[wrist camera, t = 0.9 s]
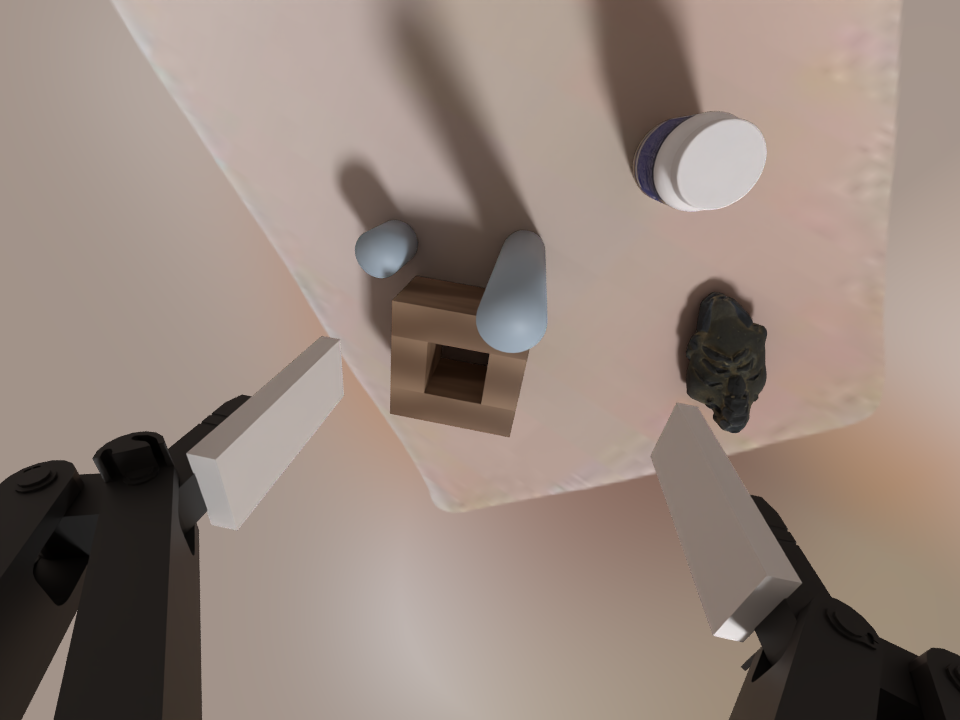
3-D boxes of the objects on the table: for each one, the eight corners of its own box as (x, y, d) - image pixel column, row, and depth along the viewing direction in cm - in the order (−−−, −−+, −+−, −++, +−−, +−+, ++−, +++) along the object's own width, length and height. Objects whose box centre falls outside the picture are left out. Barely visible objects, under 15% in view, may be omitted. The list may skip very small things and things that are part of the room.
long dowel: (505, 226, 34) (480, 281, 20) (549, 234, 34) (554, 294, 20) (498, 270, 36) (471, 346, 22) (540, 277, 36) (539, 358, 22)
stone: (758, 279, 34) (792, 299, 29) (756, 401, 39) (784, 434, 35) (675, 297, 36) (695, 319, 31) (684, 412, 41) (702, 444, 36)
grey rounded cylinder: (377, 216, 35) (354, 226, 31) (418, 223, 35) (401, 234, 31) (377, 258, 37) (355, 273, 33) (416, 265, 37) (400, 281, 33)
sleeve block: (416, 275, 38) (391, 300, 32) (535, 297, 37) (534, 326, 31) (411, 376, 44) (390, 413, 38) (514, 396, 43) (509, 437, 37)
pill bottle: (635, 208, 32) (670, 230, 23) (627, 133, 30) (661, 127, 21) (710, 187, 31) (776, 202, 22) (708, 106, 28) (781, 87, 19)
